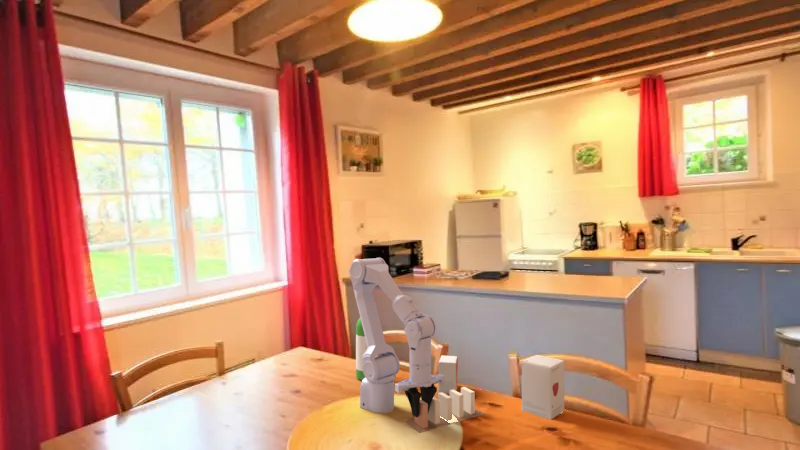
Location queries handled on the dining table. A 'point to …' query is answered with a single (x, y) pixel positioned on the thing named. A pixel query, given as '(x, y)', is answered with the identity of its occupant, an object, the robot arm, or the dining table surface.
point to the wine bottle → (360, 349)
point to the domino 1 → (422, 415)
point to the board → (442, 421)
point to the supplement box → (543, 386)
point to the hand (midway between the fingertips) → (420, 414)
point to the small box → (448, 373)
